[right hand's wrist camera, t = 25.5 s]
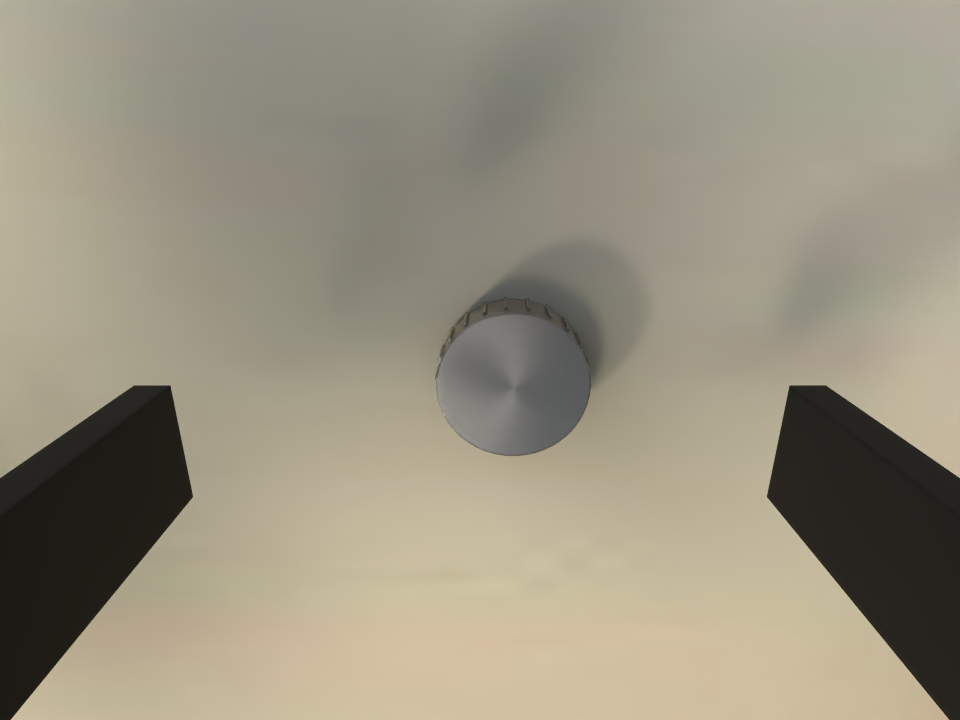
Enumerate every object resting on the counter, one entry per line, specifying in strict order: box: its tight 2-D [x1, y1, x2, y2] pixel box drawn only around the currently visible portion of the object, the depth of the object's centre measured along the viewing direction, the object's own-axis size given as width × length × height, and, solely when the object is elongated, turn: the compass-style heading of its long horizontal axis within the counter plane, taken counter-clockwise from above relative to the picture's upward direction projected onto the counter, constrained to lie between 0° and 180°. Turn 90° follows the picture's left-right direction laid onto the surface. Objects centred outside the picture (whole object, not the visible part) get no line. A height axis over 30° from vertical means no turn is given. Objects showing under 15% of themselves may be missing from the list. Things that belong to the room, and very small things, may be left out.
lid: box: [435, 297, 591, 456], centre depth 17 cm, size 5×5×2 cm
